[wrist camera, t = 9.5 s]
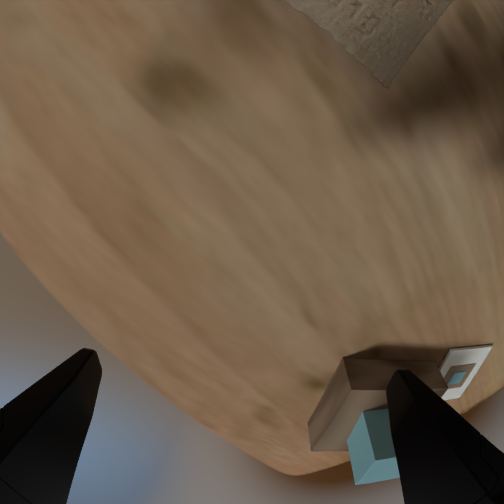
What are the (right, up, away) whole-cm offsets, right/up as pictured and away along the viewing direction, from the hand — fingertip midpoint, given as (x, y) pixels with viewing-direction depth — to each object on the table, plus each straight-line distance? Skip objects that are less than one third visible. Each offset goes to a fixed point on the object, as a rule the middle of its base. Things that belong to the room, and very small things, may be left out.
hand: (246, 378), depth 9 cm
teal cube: (+12, -12, +16) cm, 23 cm away
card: (+21, -9, +19) cm, 30 cm away
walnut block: (+12, -10, +20) cm, 25 cm away
